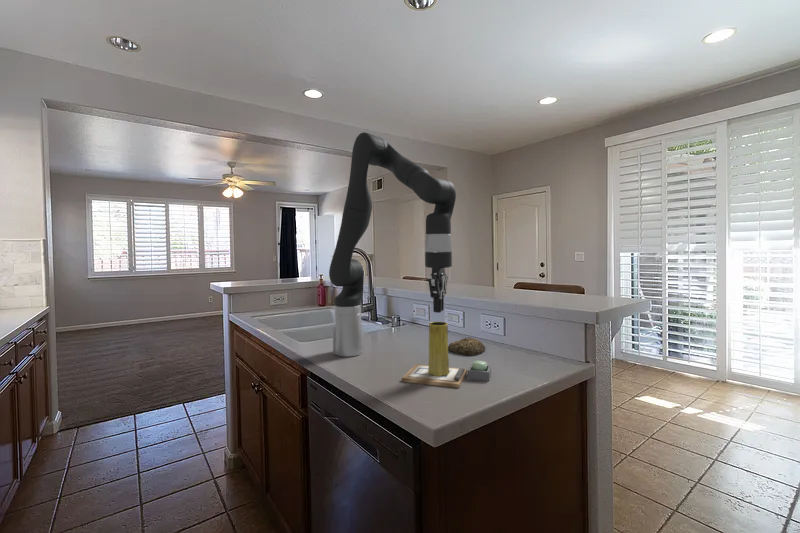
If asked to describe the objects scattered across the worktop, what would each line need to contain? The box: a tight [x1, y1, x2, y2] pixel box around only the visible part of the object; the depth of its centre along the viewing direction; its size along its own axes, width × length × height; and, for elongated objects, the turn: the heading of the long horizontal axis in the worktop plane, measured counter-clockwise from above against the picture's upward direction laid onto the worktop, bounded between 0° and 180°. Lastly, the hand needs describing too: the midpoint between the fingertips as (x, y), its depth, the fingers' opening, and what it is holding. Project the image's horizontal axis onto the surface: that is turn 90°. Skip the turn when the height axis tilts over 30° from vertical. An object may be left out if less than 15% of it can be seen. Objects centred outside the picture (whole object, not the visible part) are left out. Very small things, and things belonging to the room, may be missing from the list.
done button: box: [472, 360, 488, 371], centre depth 108 cm, size 4×4×2 cm
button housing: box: [466, 363, 492, 382], centre depth 108 cm, size 6×6×2 cm
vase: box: [428, 321, 450, 376], centre depth 107 cm, size 6×6×14 cm
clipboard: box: [401, 363, 468, 389], centre depth 108 cm, size 16×13×2 cm
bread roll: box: [448, 336, 486, 357], centre depth 135 cm, size 13×12×5 cm
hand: (438, 311), depth 107 cm, fingers closed
